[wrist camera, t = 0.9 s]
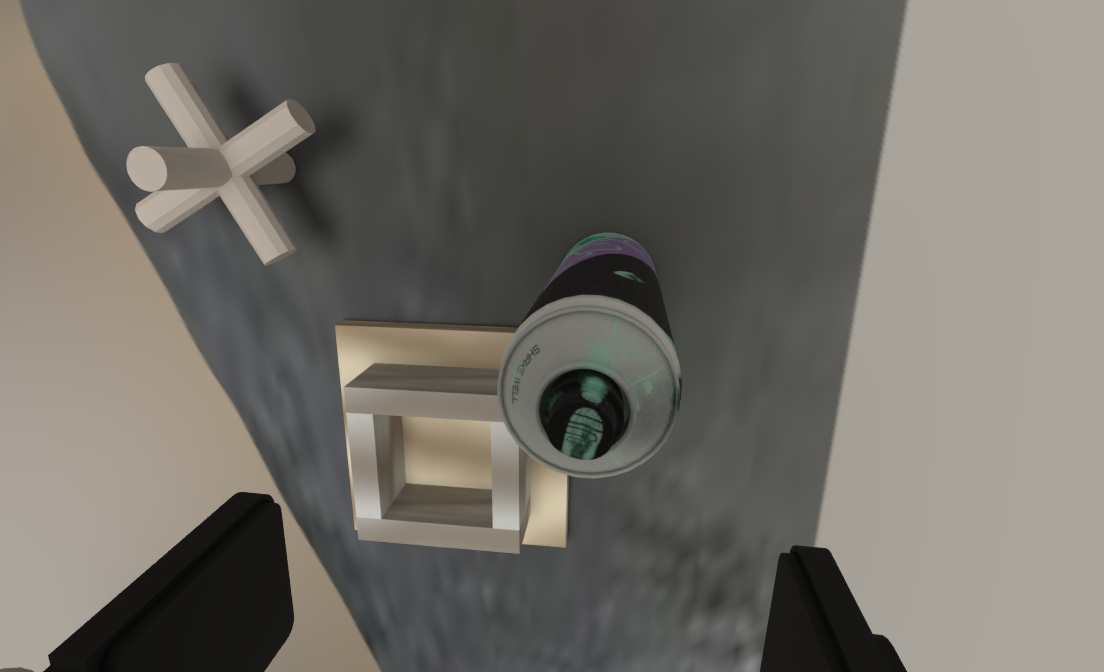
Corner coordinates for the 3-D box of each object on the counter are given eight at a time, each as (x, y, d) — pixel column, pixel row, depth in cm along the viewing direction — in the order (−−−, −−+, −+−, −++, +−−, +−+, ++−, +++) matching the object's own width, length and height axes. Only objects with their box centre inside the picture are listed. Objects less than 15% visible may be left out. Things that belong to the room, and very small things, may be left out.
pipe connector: (396, 203, 34) (305, 218, 25) (265, 282, 36) (136, 324, 27) (298, 36, 32) (159, -16, 23) (167, 131, 35) (-9, 120, 25)
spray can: (644, 220, 33) (665, 303, 14) (665, 314, 34) (713, 510, 15) (548, 245, 34) (444, 355, 15) (573, 336, 35) (507, 544, 16)
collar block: (344, 320, 36) (299, 345, 32) (571, 329, 35) (561, 357, 30) (362, 519, 40) (325, 569, 35) (567, 536, 39) (558, 590, 34)
